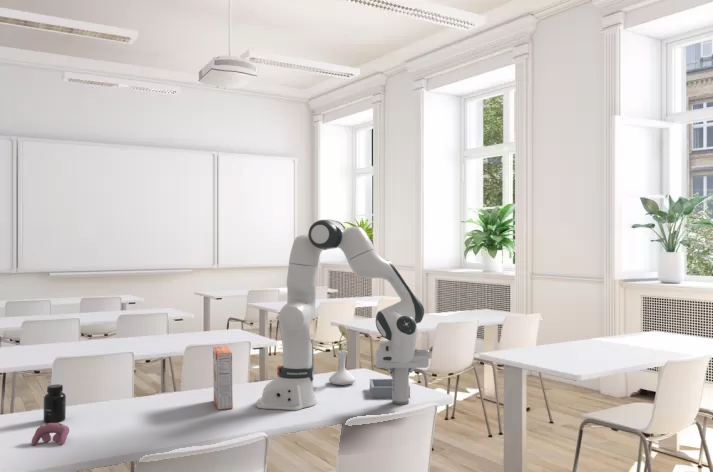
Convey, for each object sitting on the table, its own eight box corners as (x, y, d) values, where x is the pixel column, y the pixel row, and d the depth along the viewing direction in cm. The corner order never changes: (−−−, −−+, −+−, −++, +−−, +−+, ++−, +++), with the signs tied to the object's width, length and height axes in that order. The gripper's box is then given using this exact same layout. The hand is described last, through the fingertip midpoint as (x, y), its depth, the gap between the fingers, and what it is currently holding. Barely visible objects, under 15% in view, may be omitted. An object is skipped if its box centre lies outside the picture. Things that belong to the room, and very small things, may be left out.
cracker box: (212, 400, 238) (212, 346, 238) (228, 399, 240) (228, 345, 240) (216, 410, 225) (216, 353, 225) (232, 409, 227) (232, 352, 227)
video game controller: (68, 447, 191) (72, 423, 195) (62, 444, 187) (66, 421, 190) (35, 447, 191) (40, 424, 194) (29, 445, 187) (34, 421, 190)
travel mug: (408, 400, 239) (408, 348, 239) (408, 405, 232) (408, 351, 232) (392, 399, 239) (392, 348, 239) (391, 404, 233) (391, 351, 233)
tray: (371, 397, 242) (371, 387, 242) (369, 388, 256) (369, 379, 256) (409, 397, 243) (409, 387, 243) (405, 388, 257) (405, 378, 257)
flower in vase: (357, 386, 260) (357, 327, 260) (330, 387, 259) (330, 327, 259) (353, 379, 273) (353, 322, 273) (327, 380, 272) (327, 323, 272)
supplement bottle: (41, 424, 209) (41, 388, 209) (45, 418, 215) (45, 384, 215) (63, 422, 211) (63, 387, 211) (67, 417, 217) (67, 382, 217)
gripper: (430, 342, 229) (426, 363, 238) (375, 343, 228) (373, 364, 238) (432, 357, 224) (428, 378, 234) (375, 357, 224) (374, 378, 233)
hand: (400, 371), depth 236 cm, fingers closed on travel mug, 6 cm apart
